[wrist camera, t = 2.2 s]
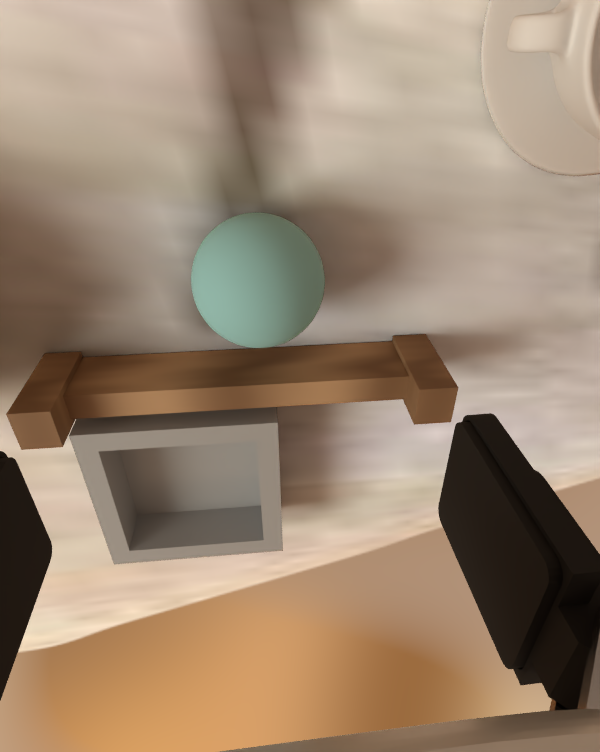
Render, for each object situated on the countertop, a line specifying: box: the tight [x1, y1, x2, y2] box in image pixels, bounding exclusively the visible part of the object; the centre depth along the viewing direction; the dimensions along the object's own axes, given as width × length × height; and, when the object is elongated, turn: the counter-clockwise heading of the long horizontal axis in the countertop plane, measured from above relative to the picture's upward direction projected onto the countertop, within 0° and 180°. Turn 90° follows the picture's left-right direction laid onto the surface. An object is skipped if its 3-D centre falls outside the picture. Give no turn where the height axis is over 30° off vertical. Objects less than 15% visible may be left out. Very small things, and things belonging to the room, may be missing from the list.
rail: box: [6, 334, 458, 450], centre depth 22 cm, size 18×2×4 cm, turn 90°
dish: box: [69, 407, 283, 564], centre depth 26 cm, size 9×9×3 cm
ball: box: [191, 213, 325, 348], centre depth 19 cm, size 5×5×5 cm
